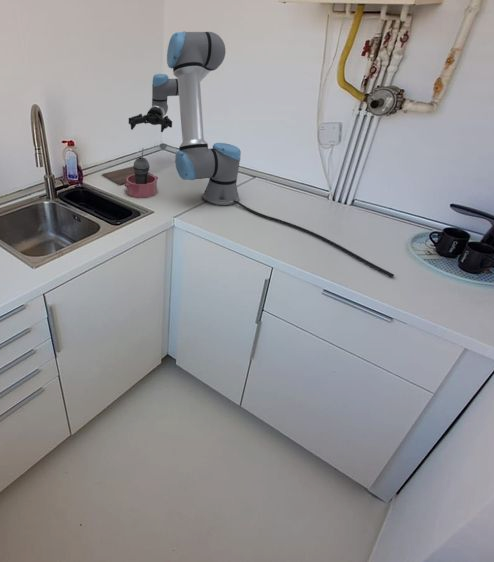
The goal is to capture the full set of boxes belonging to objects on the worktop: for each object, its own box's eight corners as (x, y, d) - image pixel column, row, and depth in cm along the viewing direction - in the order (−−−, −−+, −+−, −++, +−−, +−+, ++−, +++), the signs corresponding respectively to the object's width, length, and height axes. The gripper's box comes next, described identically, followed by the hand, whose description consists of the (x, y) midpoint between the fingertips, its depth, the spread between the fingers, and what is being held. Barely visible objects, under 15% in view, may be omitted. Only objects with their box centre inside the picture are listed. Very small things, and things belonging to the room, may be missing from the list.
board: (153, 176, 187) (153, 174, 186) (119, 185, 177) (119, 183, 177) (134, 167, 197) (134, 165, 196) (102, 175, 187) (102, 173, 187)
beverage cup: (143, 187, 175) (143, 143, 163) (152, 192, 170) (153, 148, 159) (130, 190, 172) (129, 146, 160) (139, 195, 167) (138, 151, 155)
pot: (165, 191, 171) (165, 179, 168) (135, 201, 163) (134, 188, 159) (147, 182, 180) (147, 170, 176) (117, 191, 172) (117, 178, 168)
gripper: (180, 125, 180) (174, 138, 164) (130, 121, 184) (119, 134, 167) (181, 108, 175) (175, 120, 159) (130, 104, 179) (118, 116, 163)
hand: (146, 127), depth 163 cm, fingers open, 13 cm apart
